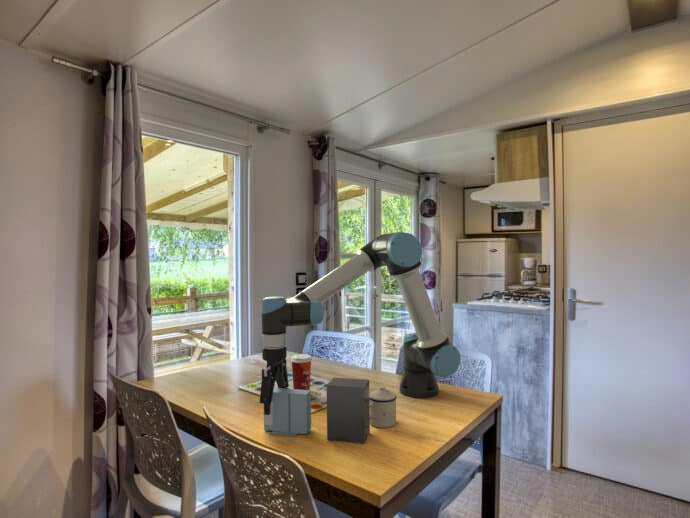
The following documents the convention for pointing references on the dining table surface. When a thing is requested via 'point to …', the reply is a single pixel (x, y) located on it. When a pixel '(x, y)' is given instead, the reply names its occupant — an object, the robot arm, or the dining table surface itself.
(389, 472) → the dining table surface
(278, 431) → the pad
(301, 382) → the coffee cup
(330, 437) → the dark gray cuboid
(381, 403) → the teacup with lid
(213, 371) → the dining table surface
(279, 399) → the slate blue cuboid
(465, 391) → the dining table surface
